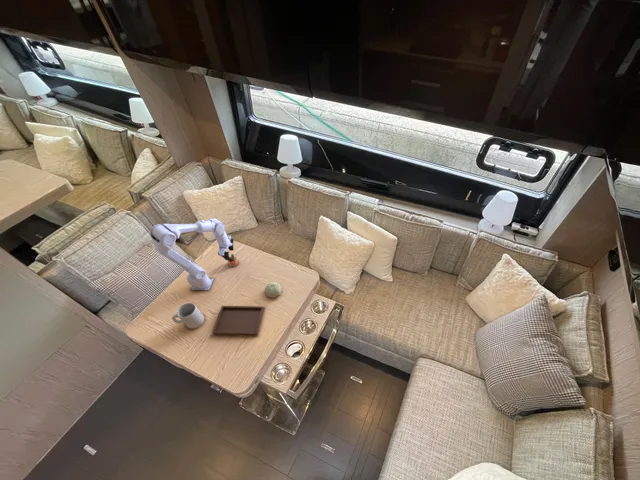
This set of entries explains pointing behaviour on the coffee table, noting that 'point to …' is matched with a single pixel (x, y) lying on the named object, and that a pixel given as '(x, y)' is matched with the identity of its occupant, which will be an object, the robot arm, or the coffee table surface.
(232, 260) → the muddler
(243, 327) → the tray
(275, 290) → the sea urchin shell
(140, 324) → the coffee table surface
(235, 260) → the cup
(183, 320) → the mug
